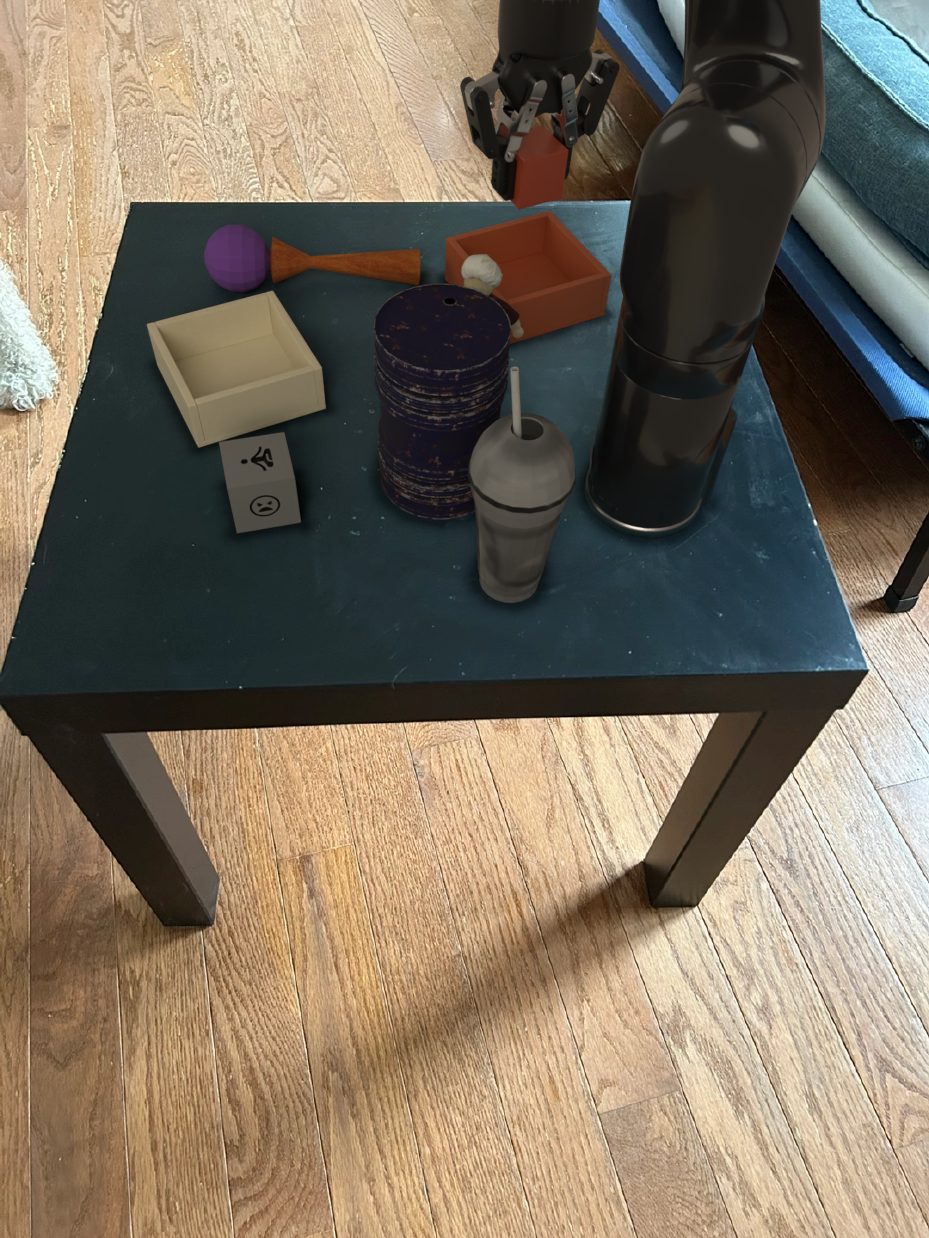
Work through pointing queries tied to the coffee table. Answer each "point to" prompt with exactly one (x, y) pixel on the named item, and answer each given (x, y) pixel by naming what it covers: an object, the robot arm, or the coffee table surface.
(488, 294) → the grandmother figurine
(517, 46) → the robot arm
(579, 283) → the terracotta bin
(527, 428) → the beverage cup
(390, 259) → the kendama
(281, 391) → the cream bin
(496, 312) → the navy cylindrical canister
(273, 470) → the dice cube
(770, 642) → the coffee table surface
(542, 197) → the rust block
